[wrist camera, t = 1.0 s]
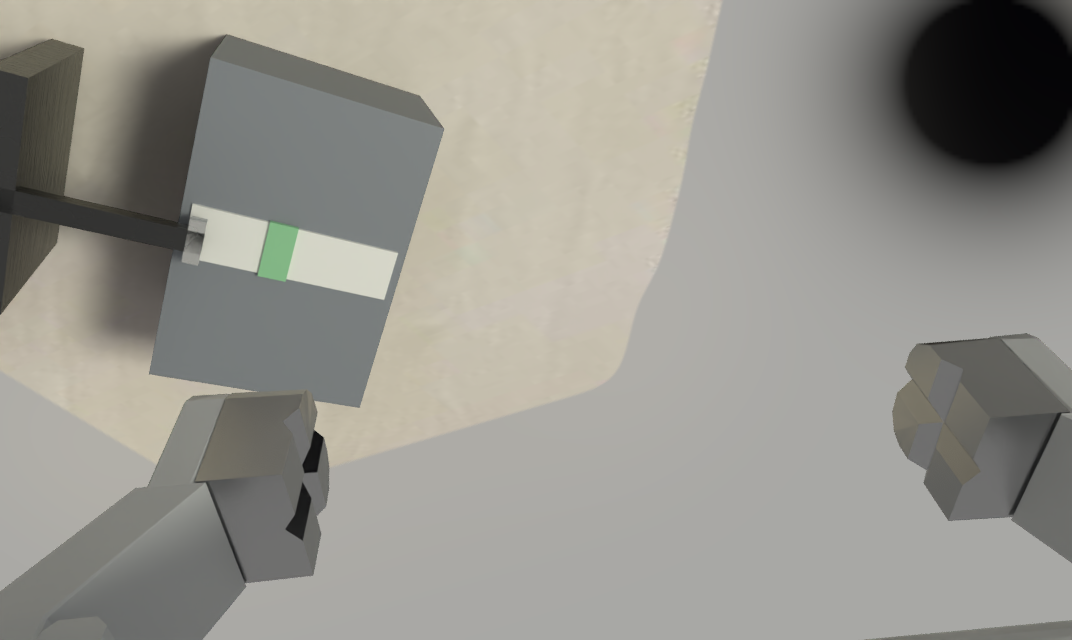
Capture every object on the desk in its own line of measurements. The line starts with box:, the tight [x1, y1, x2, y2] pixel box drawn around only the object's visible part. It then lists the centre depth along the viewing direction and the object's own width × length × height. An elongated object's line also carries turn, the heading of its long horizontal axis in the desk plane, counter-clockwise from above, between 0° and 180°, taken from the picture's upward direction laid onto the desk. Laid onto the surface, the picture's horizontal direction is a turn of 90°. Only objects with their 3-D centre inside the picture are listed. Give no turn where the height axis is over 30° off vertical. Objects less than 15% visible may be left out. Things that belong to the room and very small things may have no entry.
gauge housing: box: [149, 35, 444, 408], centre depth 48 cm, size 12×18×10 cm, turn 160°
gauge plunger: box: [0, 39, 208, 315], centre depth 43 cm, size 10×12×10 cm
